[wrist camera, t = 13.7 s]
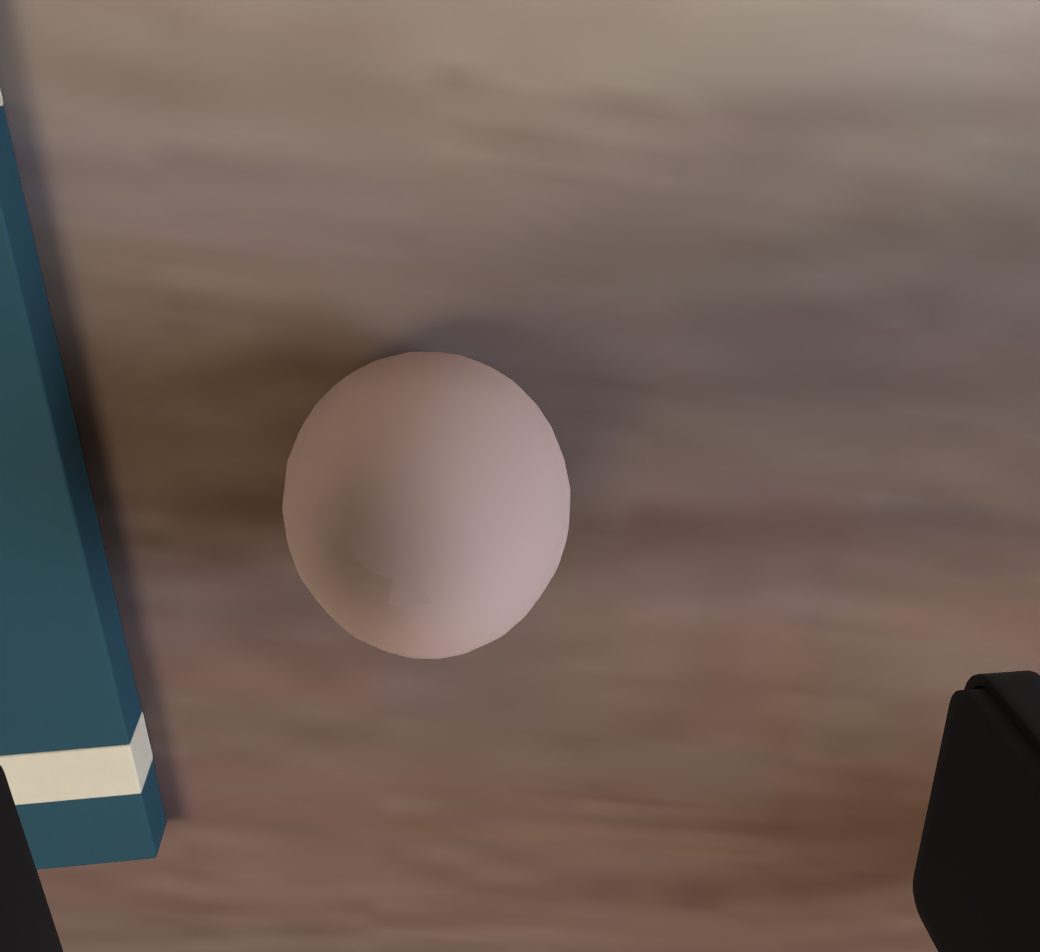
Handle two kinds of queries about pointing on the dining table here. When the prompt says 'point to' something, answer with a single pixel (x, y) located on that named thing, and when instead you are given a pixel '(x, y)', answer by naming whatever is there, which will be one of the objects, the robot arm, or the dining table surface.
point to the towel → (59, 598)
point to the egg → (426, 504)
